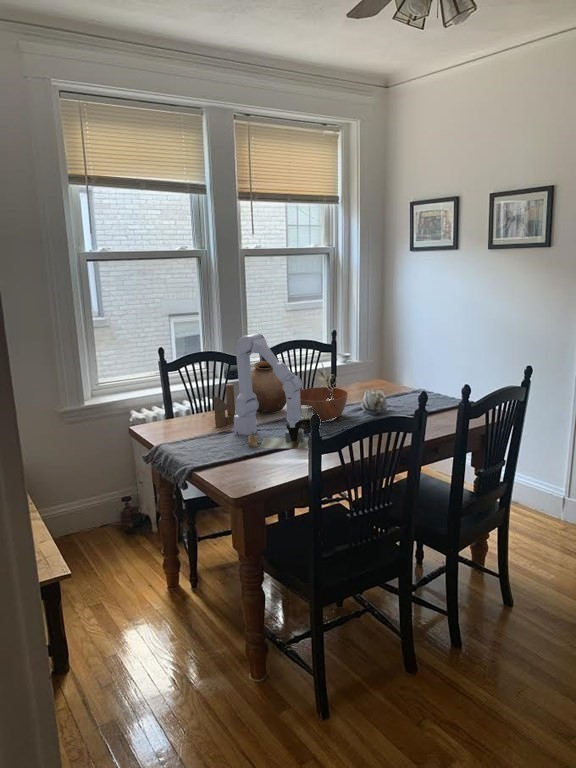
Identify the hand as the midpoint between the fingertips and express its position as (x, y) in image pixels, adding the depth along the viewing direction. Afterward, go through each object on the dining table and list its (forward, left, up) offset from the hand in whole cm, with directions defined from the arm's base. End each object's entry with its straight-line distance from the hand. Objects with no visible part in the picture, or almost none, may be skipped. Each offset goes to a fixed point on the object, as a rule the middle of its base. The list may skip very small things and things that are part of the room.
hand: (294, 438), depth 232 cm
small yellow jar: (-16, -6, -2) cm, 17 cm away
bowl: (+9, +35, -2) cm, 36 cm away
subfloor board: (-3, -3, -2) cm, 5 cm away
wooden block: (-34, +26, -2) cm, 43 cm away
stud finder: (0, 0, -1) cm, 1 cm away
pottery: (-18, +43, -2) cm, 47 cm away
